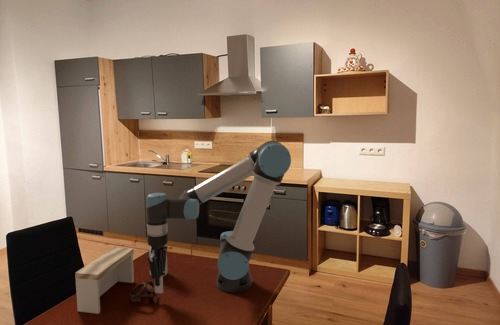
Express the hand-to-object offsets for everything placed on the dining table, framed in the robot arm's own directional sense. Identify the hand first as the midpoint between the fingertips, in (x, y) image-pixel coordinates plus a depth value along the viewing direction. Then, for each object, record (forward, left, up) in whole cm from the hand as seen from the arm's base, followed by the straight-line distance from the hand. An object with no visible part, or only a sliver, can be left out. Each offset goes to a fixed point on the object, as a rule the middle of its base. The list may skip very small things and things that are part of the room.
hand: (159, 292), depth 145 cm
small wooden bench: (+21, 0, -4) cm, 22 cm away
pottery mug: (+5, +1, -4) cm, 7 cm away
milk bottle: (+10, -22, -4) cm, 25 cm away
